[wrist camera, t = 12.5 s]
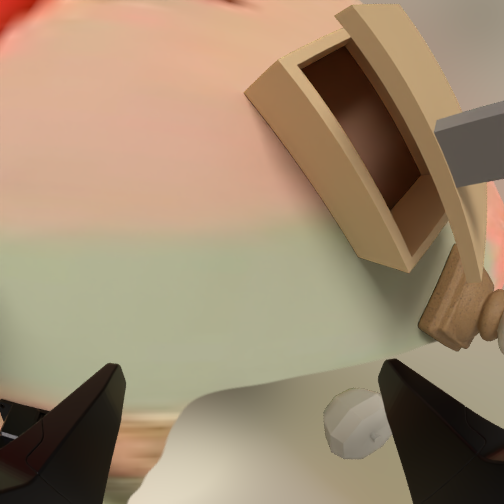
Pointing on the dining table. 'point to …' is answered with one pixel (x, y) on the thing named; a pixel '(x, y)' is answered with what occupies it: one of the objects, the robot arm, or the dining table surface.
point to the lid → (436, 122)
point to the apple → (356, 423)
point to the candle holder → (463, 308)
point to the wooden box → (348, 159)
